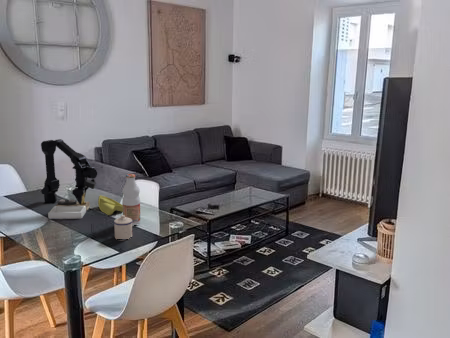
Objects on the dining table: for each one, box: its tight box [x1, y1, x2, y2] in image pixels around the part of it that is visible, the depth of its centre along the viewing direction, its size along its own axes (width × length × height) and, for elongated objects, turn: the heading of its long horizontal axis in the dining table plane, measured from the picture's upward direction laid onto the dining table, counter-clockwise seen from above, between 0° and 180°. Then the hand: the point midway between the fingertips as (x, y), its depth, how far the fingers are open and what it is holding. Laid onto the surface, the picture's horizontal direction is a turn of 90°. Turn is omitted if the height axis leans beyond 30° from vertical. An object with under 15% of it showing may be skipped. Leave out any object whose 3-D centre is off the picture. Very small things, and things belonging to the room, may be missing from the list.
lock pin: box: [80, 192, 86, 205], centre depth 246 cm, size 4×4×10 cm
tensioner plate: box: [55, 198, 91, 212], centre depth 246 cm, size 18×8×5 cm, turn 97°
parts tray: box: [47, 205, 87, 220], centre depth 235 cm, size 18×12×4 cm, turn 97°
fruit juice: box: [121, 173, 141, 227], centre depth 222 cm, size 9×9×28 cm
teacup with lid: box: [113, 214, 133, 240], centre depth 206 cm, size 12×9×12 cm
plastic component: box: [97, 194, 123, 216], centre depth 246 cm, size 20×7×10 cm
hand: (82, 201), depth 246 cm, fingers open, 9 cm apart
